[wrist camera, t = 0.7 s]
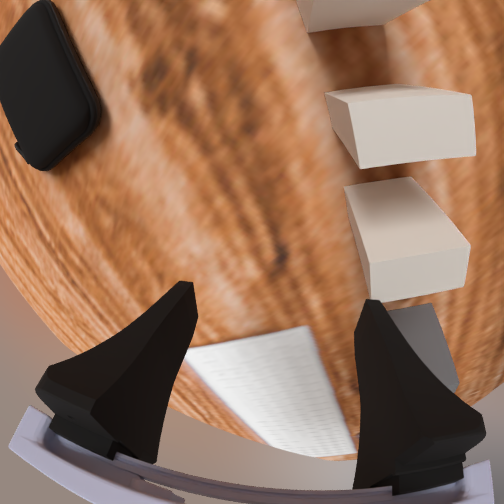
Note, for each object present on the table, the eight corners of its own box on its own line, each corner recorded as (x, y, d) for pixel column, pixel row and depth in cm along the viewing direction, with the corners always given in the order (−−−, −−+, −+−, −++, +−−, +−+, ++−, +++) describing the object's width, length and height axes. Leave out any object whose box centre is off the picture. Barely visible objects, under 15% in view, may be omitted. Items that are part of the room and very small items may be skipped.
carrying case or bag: (-2, 66, 16) (47, 177, 22) (-24, 72, 13) (26, 190, 20) (59, -8, 12) (118, 117, 19) (35, -11, 10) (95, 125, 16)
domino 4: (428, 320, 24) (451, 397, 17) (381, 329, 26) (395, 410, 18) (431, 302, 23) (459, 382, 16) (382, 312, 25) (399, 397, 17)
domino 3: (412, 207, 19) (463, 286, 11) (348, 217, 20) (371, 304, 13) (411, 176, 18) (470, 245, 10) (343, 186, 19) (369, 263, 12)
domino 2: (404, 118, 16) (475, 155, 8) (332, 128, 17) (359, 169, 10) (398, 83, 14) (471, 94, 7) (324, 92, 16) (347, 103, 8)
